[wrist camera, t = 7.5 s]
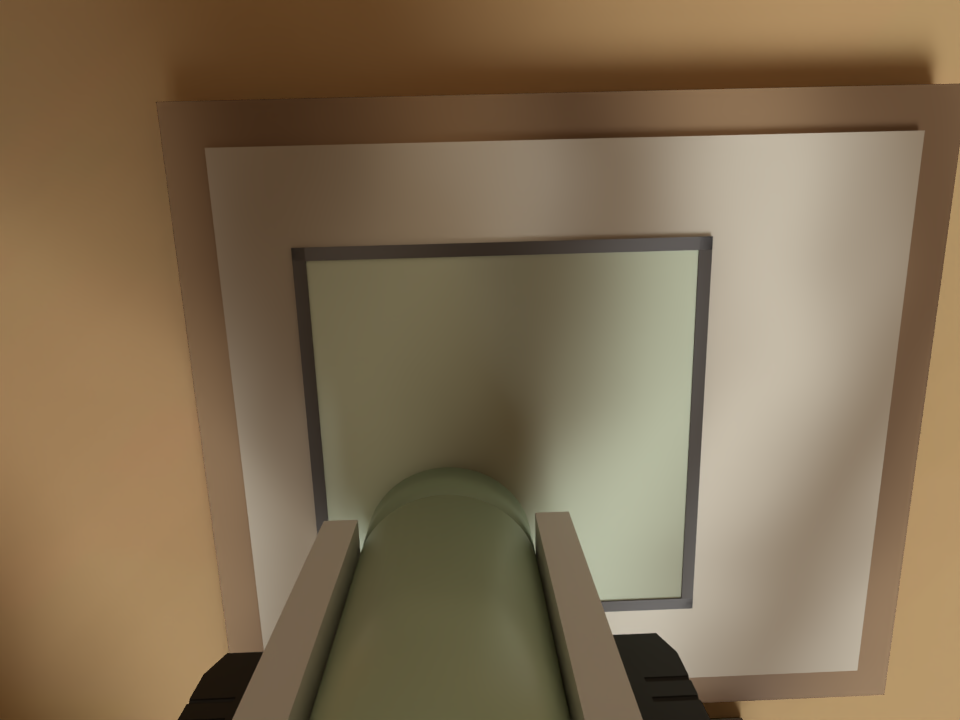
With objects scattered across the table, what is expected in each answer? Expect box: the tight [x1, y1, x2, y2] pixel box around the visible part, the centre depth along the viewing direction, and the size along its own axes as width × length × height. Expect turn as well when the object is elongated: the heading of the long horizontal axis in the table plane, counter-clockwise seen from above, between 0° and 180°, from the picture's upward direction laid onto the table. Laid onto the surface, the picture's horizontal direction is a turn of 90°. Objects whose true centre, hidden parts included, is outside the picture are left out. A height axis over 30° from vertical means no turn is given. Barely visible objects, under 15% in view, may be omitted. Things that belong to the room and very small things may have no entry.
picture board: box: [156, 84, 960, 703], centre depth 16 cm, size 18×16×1 cm
